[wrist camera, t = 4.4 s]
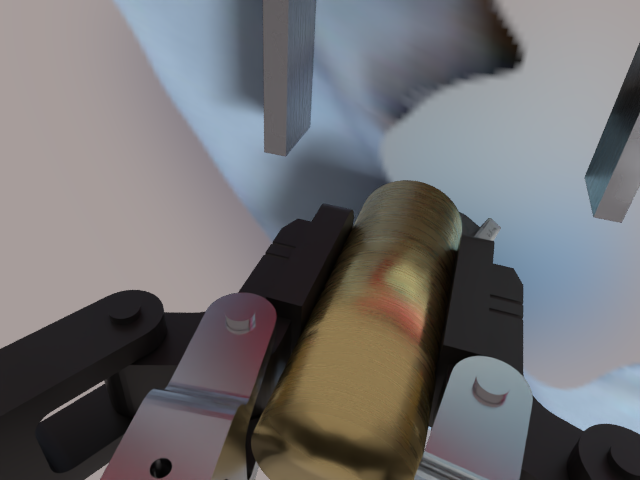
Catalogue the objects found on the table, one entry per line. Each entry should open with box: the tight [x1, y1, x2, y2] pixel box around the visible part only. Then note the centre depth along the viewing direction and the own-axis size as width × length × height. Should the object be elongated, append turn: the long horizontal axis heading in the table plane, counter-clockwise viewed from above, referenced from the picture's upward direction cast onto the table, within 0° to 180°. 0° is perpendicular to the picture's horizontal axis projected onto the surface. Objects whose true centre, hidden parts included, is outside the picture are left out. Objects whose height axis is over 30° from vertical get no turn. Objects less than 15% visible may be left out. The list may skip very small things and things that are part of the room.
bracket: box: [263, 0, 640, 223], centre depth 23 cm, size 17×13×4 cm
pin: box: [251, 180, 462, 480], centre depth 11 cm, size 3×3×7 cm
